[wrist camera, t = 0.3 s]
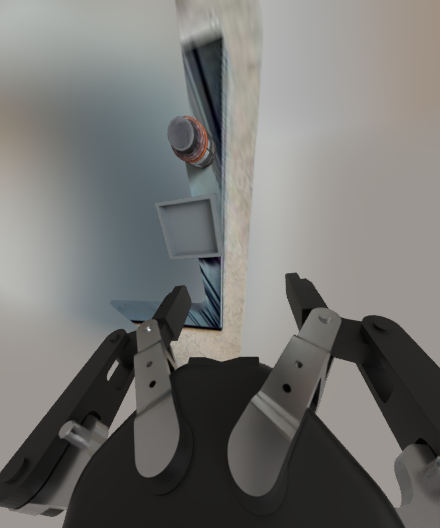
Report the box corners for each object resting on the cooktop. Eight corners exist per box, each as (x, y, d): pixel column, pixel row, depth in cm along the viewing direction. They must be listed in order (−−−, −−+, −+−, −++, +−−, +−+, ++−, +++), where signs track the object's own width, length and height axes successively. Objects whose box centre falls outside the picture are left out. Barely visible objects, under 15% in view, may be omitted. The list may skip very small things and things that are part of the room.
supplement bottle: (183, 143, 33) (152, 121, 23) (209, 127, 31) (187, 94, 21) (196, 173, 34) (173, 165, 24) (221, 159, 33) (207, 144, 22)
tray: (162, 202, 38) (154, 202, 35) (216, 193, 35) (213, 193, 32) (175, 254, 44) (170, 259, 40) (224, 251, 40) (222, 256, 37)
